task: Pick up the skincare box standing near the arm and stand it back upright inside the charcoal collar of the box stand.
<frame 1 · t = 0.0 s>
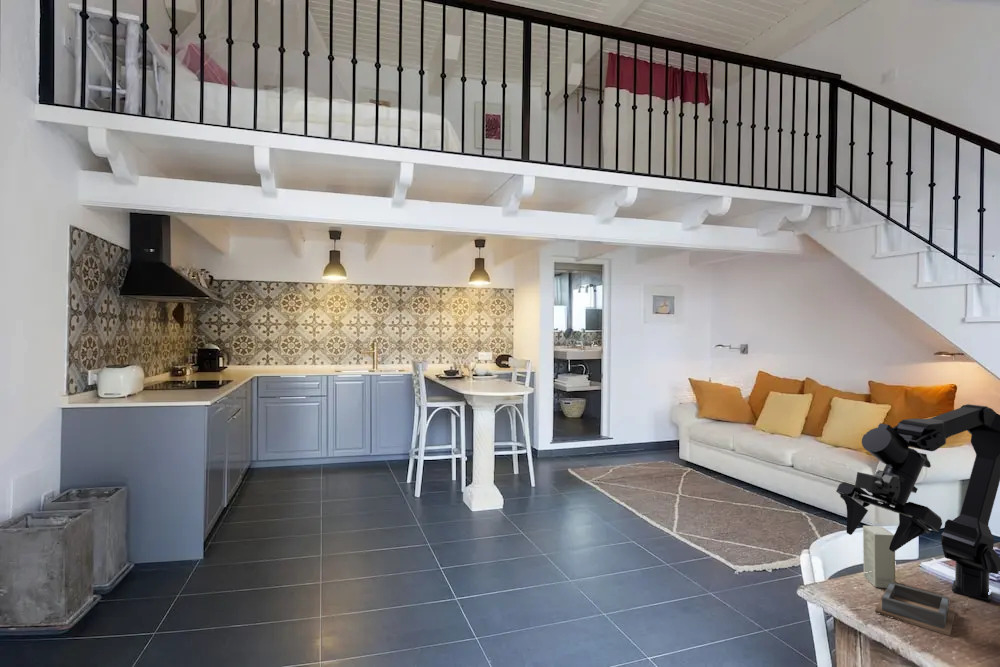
hand: (869, 541, 112), 15 cm above the table, tool tilted 35°, fingers open, 9 cm apart
box stand: (915, 612, 113), on the table
skincare box: (878, 583, 127), on the table
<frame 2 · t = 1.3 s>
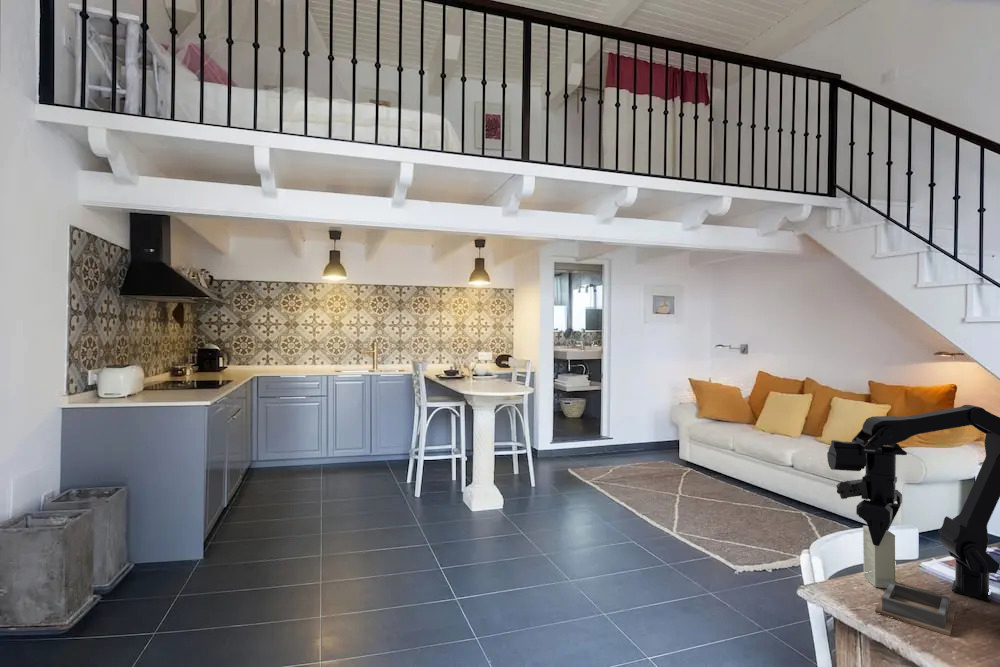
hand: (879, 539, 126), 10 cm above the table, tool pointing down, fingers open, 9 cm apart
nothing on the table moved.
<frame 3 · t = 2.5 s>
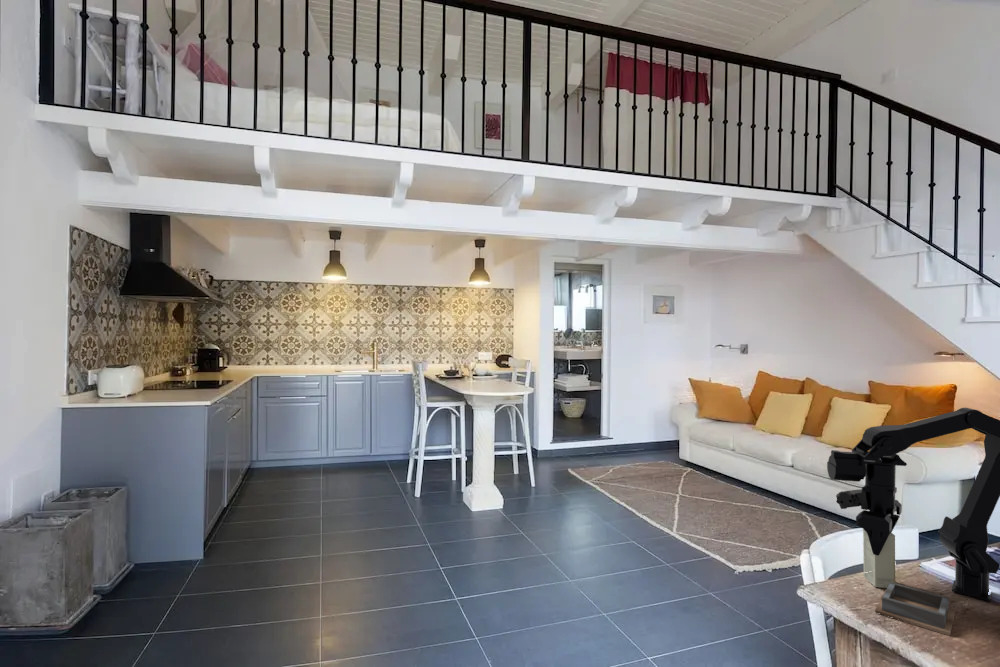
hand: (879, 549, 126), 8 cm above the table, tool pointing down, fingers closed on skincare box, 7 cm apart
skincare box: (878, 583, 127), on the table, touching gripper
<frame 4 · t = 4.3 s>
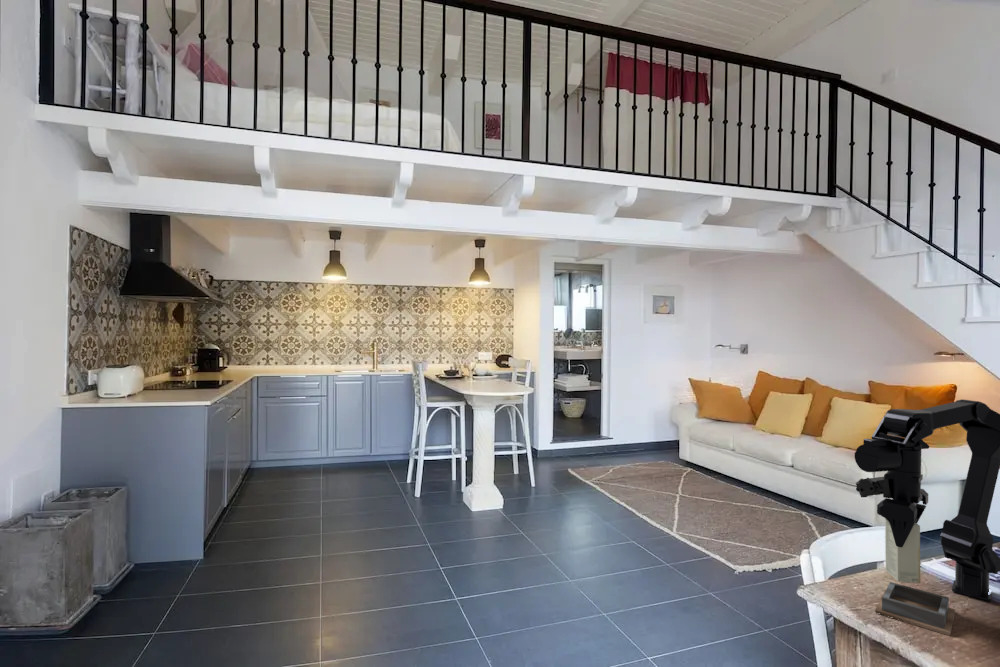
hand: (902, 541, 117), 13 cm above the table, tool pointing down, fingers closed on skincare box, 7 cm apart
skincare box: (901, 577, 117), point 5 cm above the table, touching gripper
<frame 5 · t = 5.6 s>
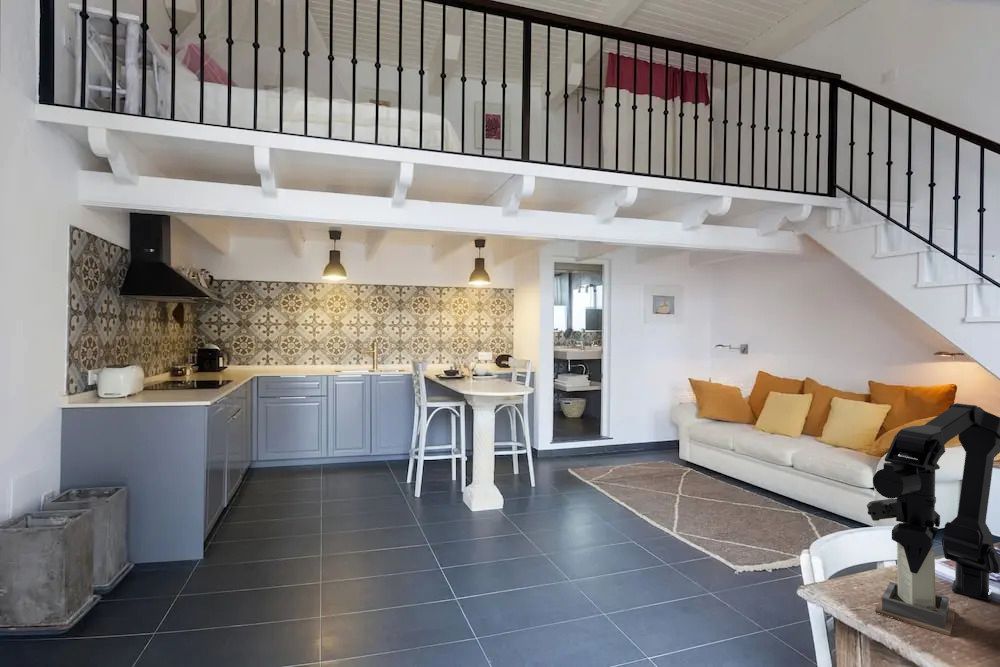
hand: (916, 566, 113), 10 cm above the table, tool pointing down, fingers closed on skincare box, 7 cm apart
skincare box: (915, 603, 113), point 2 cm above the table, touching gripper
when the fingers open (10 cm above the table, at t = 6.3 s): skincare box drops 1 cm, resting on box stand.
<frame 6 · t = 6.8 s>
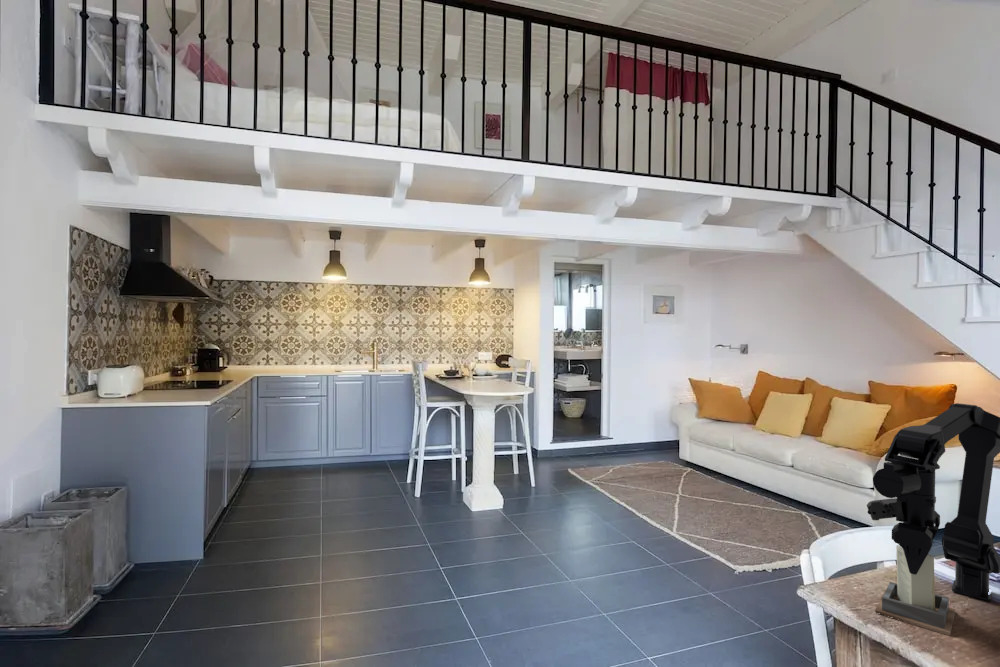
hand: (916, 566, 113), 10 cm above the table, tool pointing down, fingers open, 9 cm apart
skincare box: (915, 610, 113), resting on box stand
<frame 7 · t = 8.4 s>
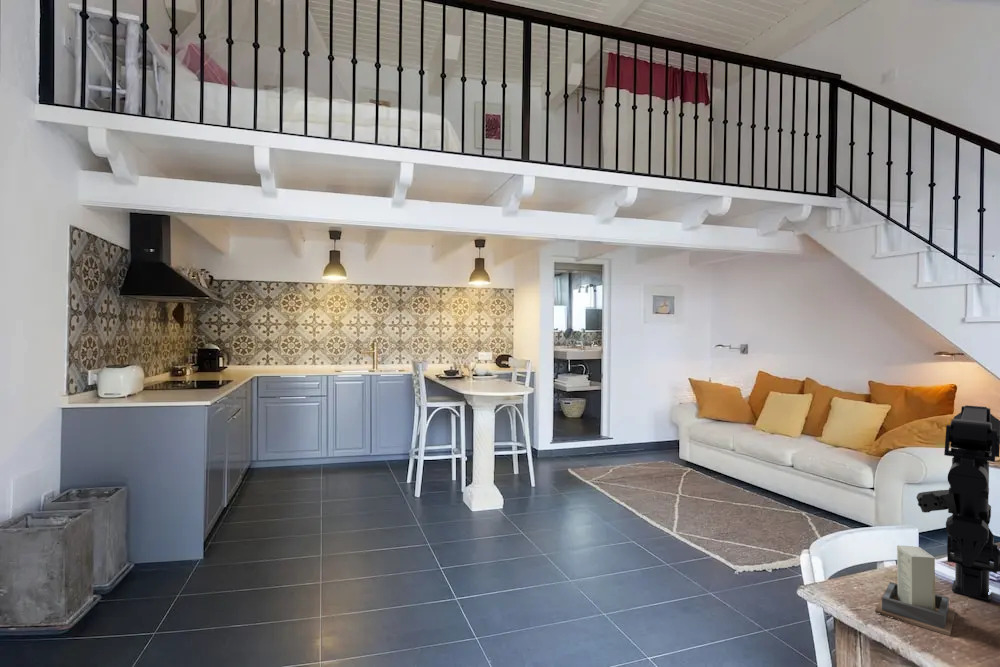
hand: (968, 558, 112), 12 cm above the table, tool pointing down, fingers open, 9 cm apart
nothing on the table moved.
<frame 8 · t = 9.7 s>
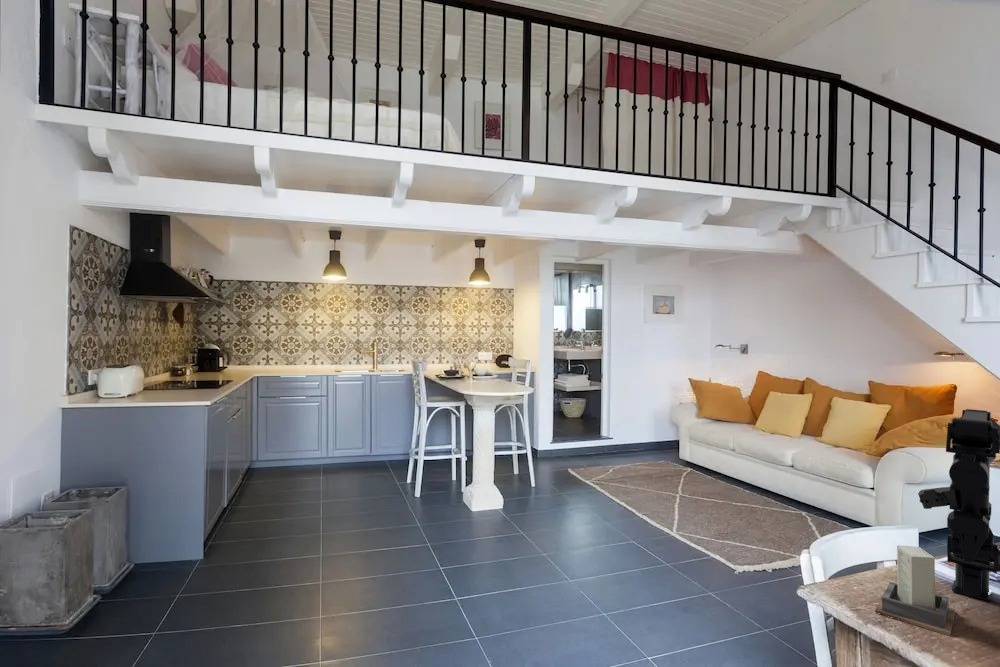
hand: (969, 554, 113), 12 cm above the table, tool pointing down, fingers open, 9 cm apart
nothing on the table moved.
at the end: skincare box 0.1 cm off-centre on the box stand, point 0.4 cm above the box stand's base; skincare box tilted 0°; the gripper is holding nothing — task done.
